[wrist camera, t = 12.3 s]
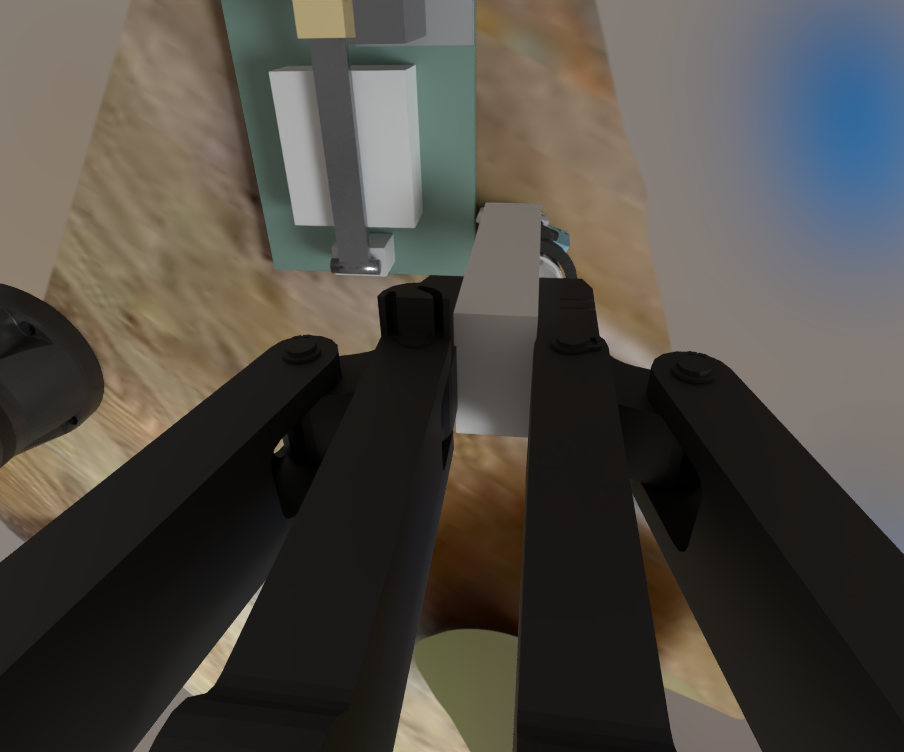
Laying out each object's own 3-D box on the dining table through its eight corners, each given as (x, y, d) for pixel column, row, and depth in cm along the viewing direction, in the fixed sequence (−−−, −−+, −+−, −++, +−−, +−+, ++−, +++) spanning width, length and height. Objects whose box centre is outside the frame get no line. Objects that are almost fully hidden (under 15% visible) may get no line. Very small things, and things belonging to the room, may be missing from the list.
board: (280, 263, 45) (258, 286, 41) (223, -31, 35) (188, -33, 31) (475, 269, 43) (469, 294, 40) (476, -39, 33) (467, -43, 29)
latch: (334, 37, 35) (298, 45, 30) (327, -25, 33) (288, -27, 28) (426, 35, 34) (405, 43, 29) (423, -28, 32) (401, -31, 27)
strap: (335, 269, 40) (331, 275, 39) (297, -3, 31) (290, -2, 30) (381, 271, 39) (378, 277, 39) (355, -4, 31) (350, -4, 30)
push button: (465, 242, 42) (445, 304, 34) (495, 171, 39) (481, 221, 31) (550, 278, 43) (551, 347, 34) (586, 211, 40) (595, 270, 31)
